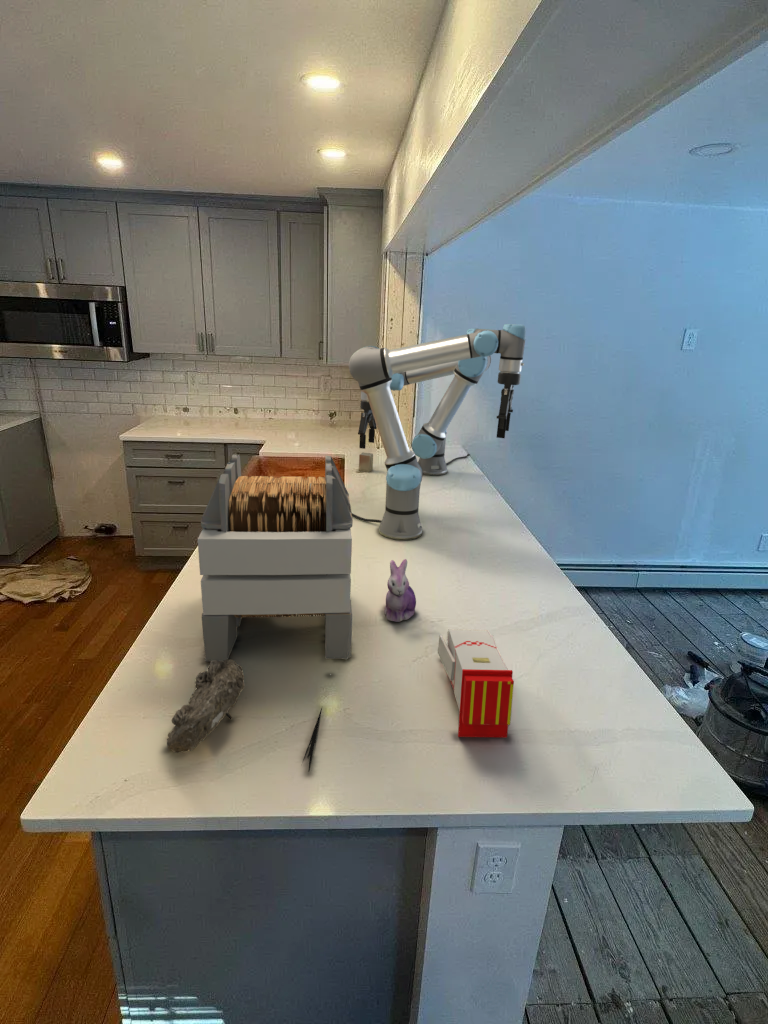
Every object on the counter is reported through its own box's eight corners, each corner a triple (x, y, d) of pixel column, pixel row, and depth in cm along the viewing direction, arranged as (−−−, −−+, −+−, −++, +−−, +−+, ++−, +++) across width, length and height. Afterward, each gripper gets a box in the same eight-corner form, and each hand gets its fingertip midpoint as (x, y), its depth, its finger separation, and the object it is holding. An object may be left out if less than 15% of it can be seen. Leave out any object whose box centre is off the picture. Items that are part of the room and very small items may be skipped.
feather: (331, 679, 122) (336, 673, 122) (307, 777, 96) (313, 769, 95) (324, 675, 122) (329, 669, 121) (298, 772, 95) (304, 764, 95)
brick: (369, 472, 273) (369, 455, 270) (358, 470, 274) (359, 454, 272) (372, 469, 278) (373, 453, 275) (362, 468, 279) (362, 452, 276)
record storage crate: (225, 590, 155) (217, 445, 141) (345, 589, 159) (348, 447, 145) (202, 664, 123) (188, 485, 110) (352, 660, 127) (356, 487, 113)
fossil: (192, 660, 117) (244, 628, 112) (224, 691, 120) (276, 661, 115) (142, 746, 98) (202, 712, 93) (182, 779, 101) (242, 748, 96)
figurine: (392, 627, 141) (395, 572, 136) (374, 608, 149) (376, 556, 144) (425, 619, 145) (429, 566, 140) (405, 601, 154) (408, 550, 149)
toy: (488, 613, 130) (523, 677, 101) (484, 667, 133) (517, 744, 104) (435, 612, 130) (455, 676, 101) (432, 666, 133) (451, 743, 103)
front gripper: (518, 376, 180) (510, 442, 187) (523, 369, 202) (516, 428, 210) (494, 374, 182) (487, 439, 189) (502, 368, 204) (496, 426, 211)
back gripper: (368, 405, 252) (366, 451, 259) (384, 397, 274) (382, 440, 281) (352, 403, 253) (350, 450, 261) (369, 396, 276) (367, 439, 283)
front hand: (502, 434), depth 199 cm, fingers open, 13 cm apart
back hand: (366, 445), depth 271 cm, fingers open, 13 cm apart
